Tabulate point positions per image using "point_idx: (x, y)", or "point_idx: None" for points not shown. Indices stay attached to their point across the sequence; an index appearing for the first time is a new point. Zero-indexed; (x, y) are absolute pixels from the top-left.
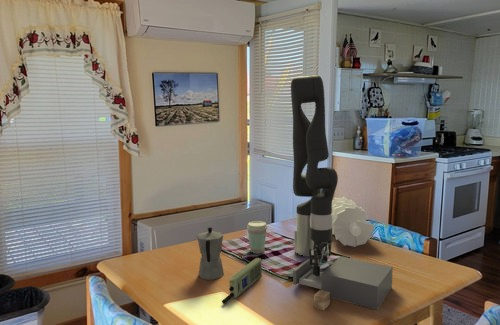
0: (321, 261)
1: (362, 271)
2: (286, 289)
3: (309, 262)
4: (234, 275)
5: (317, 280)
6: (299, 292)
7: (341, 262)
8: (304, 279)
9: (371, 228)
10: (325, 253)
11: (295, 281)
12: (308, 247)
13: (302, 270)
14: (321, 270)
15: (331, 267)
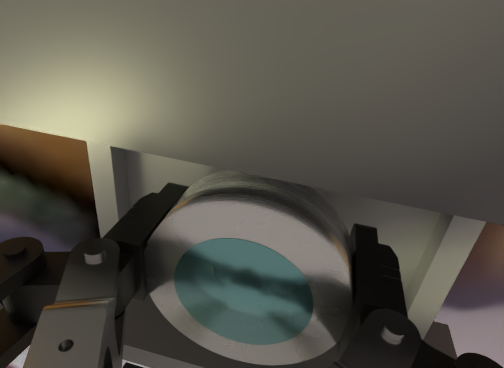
0: (195, 290)
1: None
2: (466, 344)
3: (191, 341)
4: None
5: (356, 211)
6: (500, 277)
7: (97, 44)
8: (431, 311)
9: None
10: (110, 344)
11: (453, 350)
12: None
13: (333, 359)
14: (348, 243)
15: (374, 158)
